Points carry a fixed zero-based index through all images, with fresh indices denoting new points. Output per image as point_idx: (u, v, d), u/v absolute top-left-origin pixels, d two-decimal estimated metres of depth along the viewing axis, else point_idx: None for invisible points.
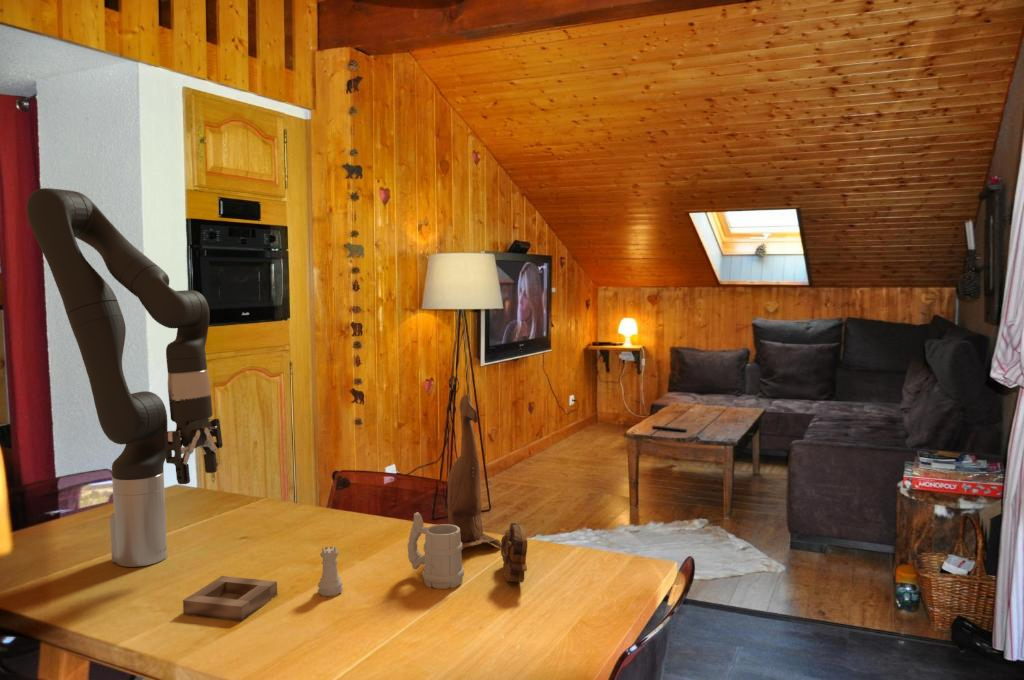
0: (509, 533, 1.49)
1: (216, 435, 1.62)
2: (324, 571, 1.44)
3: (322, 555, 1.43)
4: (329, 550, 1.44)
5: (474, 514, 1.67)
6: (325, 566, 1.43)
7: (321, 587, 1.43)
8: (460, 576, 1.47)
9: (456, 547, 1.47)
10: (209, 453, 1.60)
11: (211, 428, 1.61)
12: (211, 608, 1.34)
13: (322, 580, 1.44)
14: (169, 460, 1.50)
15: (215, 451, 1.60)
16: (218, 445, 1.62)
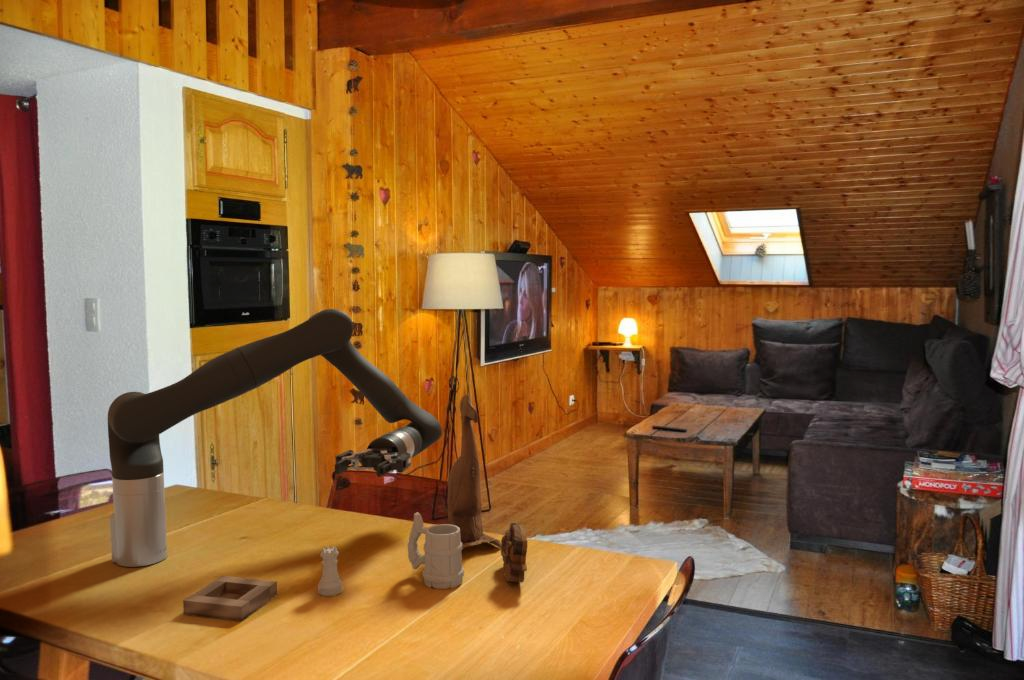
0: (509, 533, 1.49)
1: None
2: (324, 571, 1.44)
3: (322, 555, 1.43)
4: (329, 550, 1.44)
5: (474, 514, 1.67)
6: (325, 566, 1.43)
7: (321, 587, 1.43)
8: (460, 576, 1.47)
9: (456, 547, 1.47)
10: (347, 465, 1.60)
11: None
12: (211, 608, 1.34)
13: (322, 580, 1.44)
14: (402, 463, 1.58)
15: None
16: None
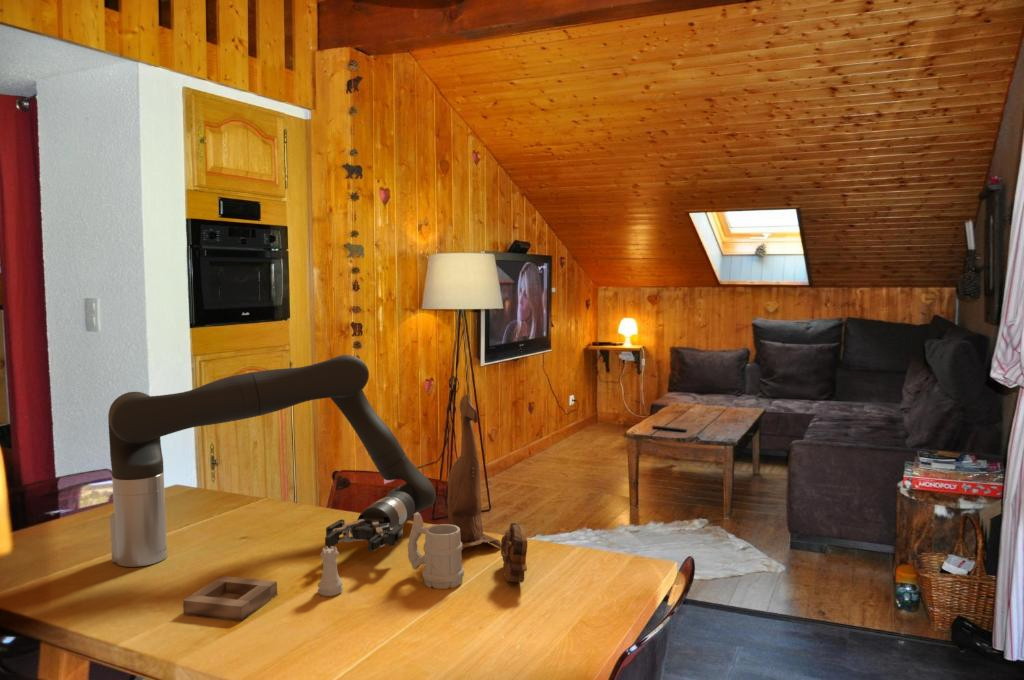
0: (509, 533, 1.49)
1: None
2: (324, 571, 1.44)
3: (322, 555, 1.43)
4: (329, 550, 1.44)
5: (474, 514, 1.67)
6: (325, 566, 1.43)
7: (321, 587, 1.43)
8: (460, 576, 1.47)
9: (456, 547, 1.47)
10: (338, 537, 1.57)
11: None
12: (211, 608, 1.34)
13: (322, 580, 1.44)
14: (394, 536, 1.55)
15: None
16: None
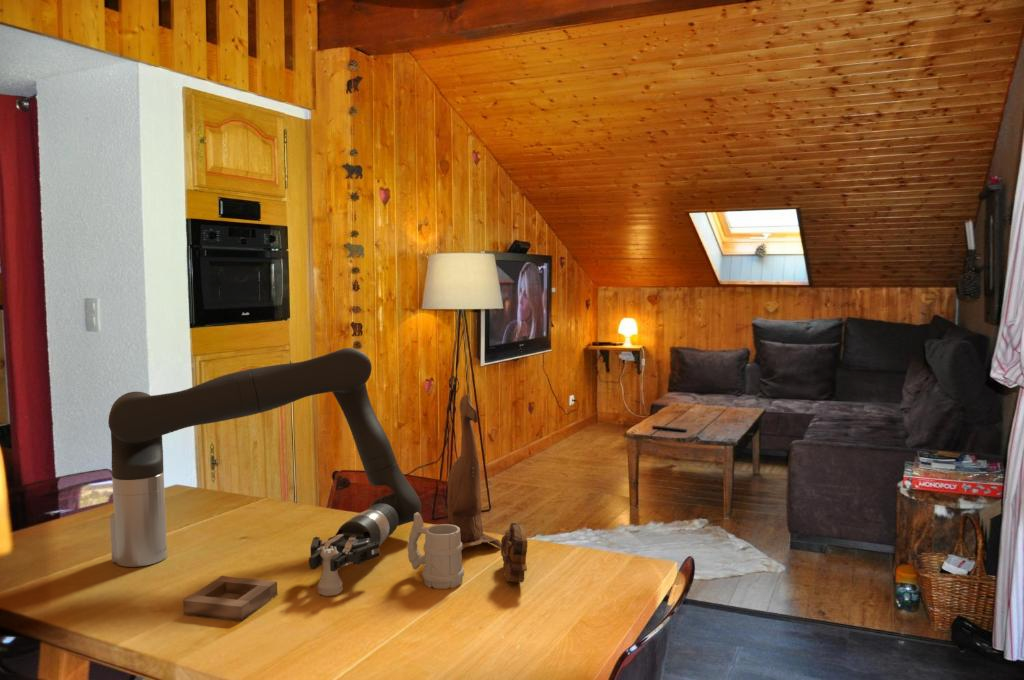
0: (509, 533, 1.49)
1: None
2: (324, 571, 1.44)
3: (322, 555, 1.43)
4: (329, 550, 1.44)
5: (474, 514, 1.67)
6: (325, 566, 1.43)
7: (321, 587, 1.43)
8: (460, 576, 1.47)
9: (456, 547, 1.47)
10: None
11: None
12: (211, 608, 1.34)
13: (322, 580, 1.44)
14: (359, 554, 1.45)
15: None
16: None
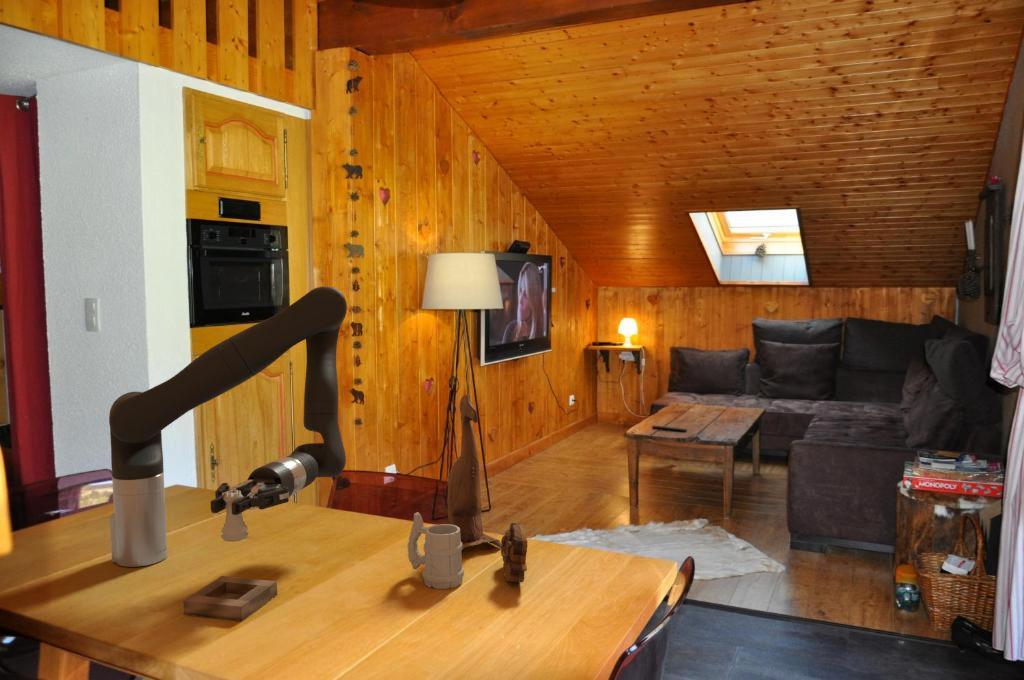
0: (509, 533, 1.49)
1: None
2: (227, 515, 1.38)
3: (225, 498, 1.37)
4: (233, 494, 1.38)
5: (474, 514, 1.67)
6: (228, 510, 1.37)
7: (224, 532, 1.37)
8: (460, 576, 1.47)
9: (456, 547, 1.47)
10: None
11: None
12: (211, 608, 1.34)
13: (225, 525, 1.38)
14: (265, 498, 1.39)
15: None
16: None
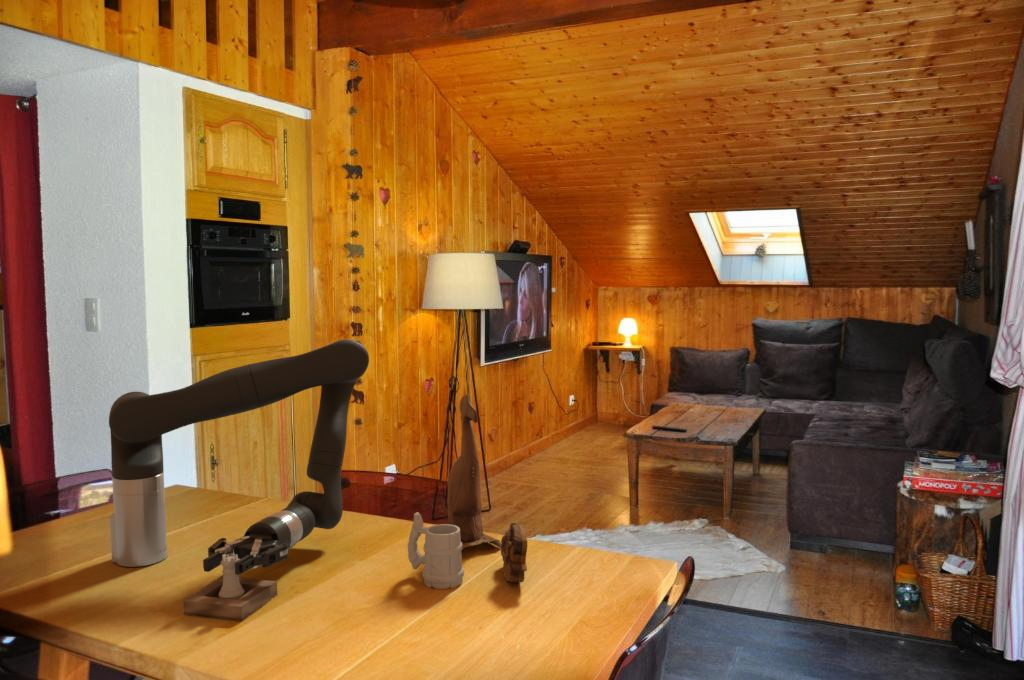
0: (509, 533, 1.49)
1: None
2: (224, 580, 1.38)
3: (222, 563, 1.38)
4: (230, 558, 1.39)
5: (474, 514, 1.67)
6: (225, 574, 1.38)
7: (221, 596, 1.38)
8: (460, 576, 1.47)
9: (456, 547, 1.47)
10: (220, 559, 1.41)
11: None
12: (211, 608, 1.34)
13: (222, 589, 1.38)
14: (268, 557, 1.40)
15: None
16: None
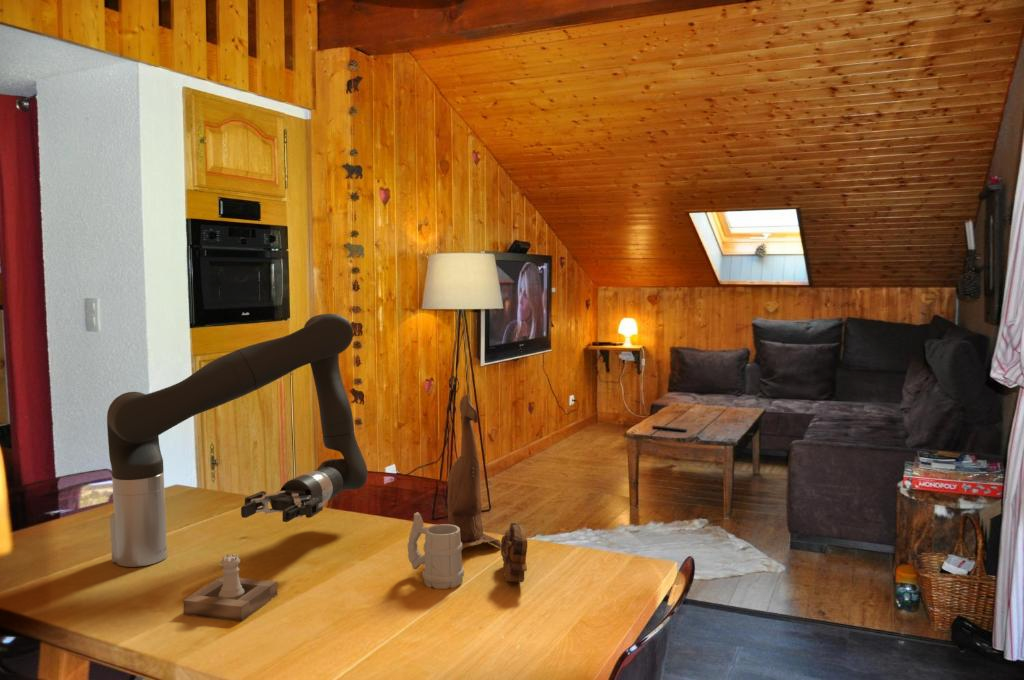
0: (509, 533, 1.49)
1: None
2: (224, 580, 1.38)
3: (222, 563, 1.38)
4: (230, 558, 1.39)
5: (474, 514, 1.67)
6: (225, 574, 1.38)
7: (221, 596, 1.38)
8: (460, 576, 1.47)
9: (456, 547, 1.47)
10: (255, 507, 1.55)
11: None
12: (211, 608, 1.34)
13: (222, 589, 1.38)
14: (311, 508, 1.53)
15: None
16: None
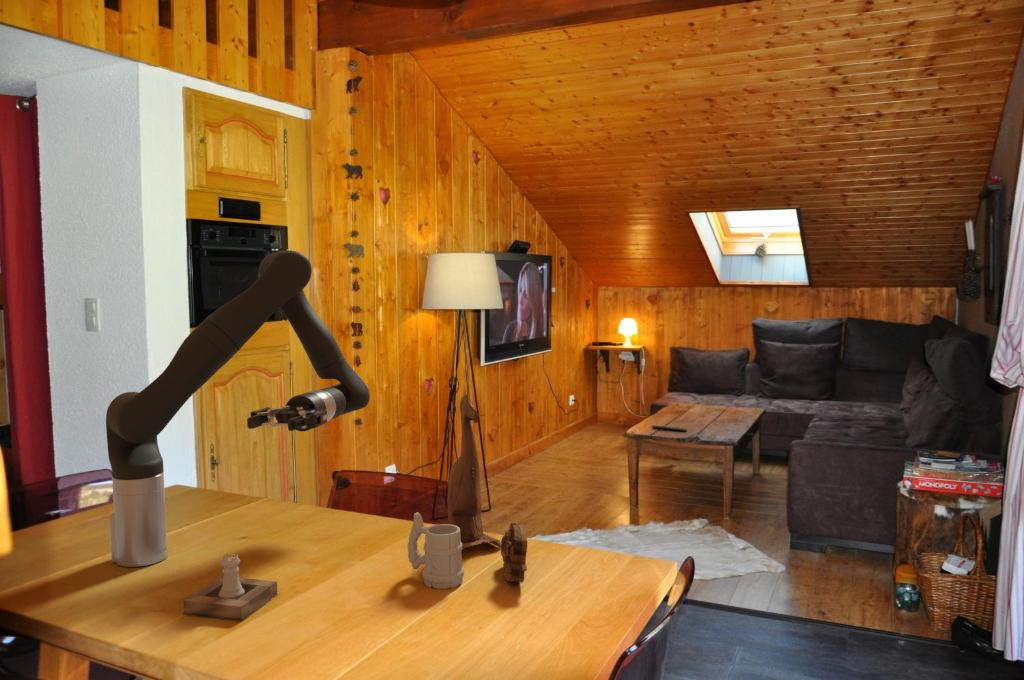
0: (509, 533, 1.49)
1: (262, 421, 1.62)
2: (224, 580, 1.38)
3: (222, 563, 1.38)
4: (230, 558, 1.39)
5: (474, 514, 1.67)
6: (225, 574, 1.38)
7: (221, 596, 1.38)
8: (460, 576, 1.47)
9: (456, 547, 1.47)
10: (261, 420, 1.59)
11: None
12: (211, 608, 1.34)
13: (222, 589, 1.38)
14: (316, 418, 1.57)
15: (260, 425, 1.59)
16: None
